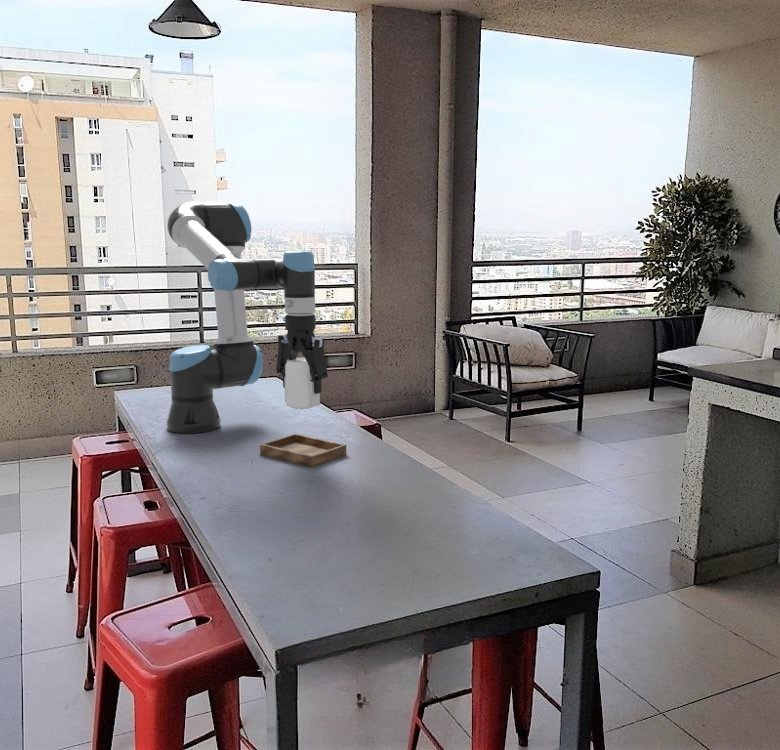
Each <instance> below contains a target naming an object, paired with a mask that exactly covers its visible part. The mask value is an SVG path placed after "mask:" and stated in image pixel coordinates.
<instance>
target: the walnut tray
mask: <svg viewBox="0 0 780 750" xmlns="http://www.w3.org/2000/svg"><path fill="white" fill-rule="evenodd" d="M259 451H260V452H259V455H263V456H265V457H270V458H273V459H278V460H281V461H286V462H289V463H293V464H296V465H300V466H305V467H308V468H315V467H317V466H320V465H322V464H326V463H327V462H330V461H332V460H333V461H334V460H336V459H339V458H341V457H344V456H346V455H347V444H343V443H341V442H335V441H330V440H326V439H321V438H318V437H314V436H313V437H312V436H308V435H303V434H299V433H293V434H289V435H286V436H283V437H279V438H275V439H273V440H270V441H267V442H263V443H261V444H259Z"/></svg>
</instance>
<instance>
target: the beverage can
mask: <svg viewBox="0 0 780 750" xmlns="http://www.w3.org/2000/svg"><path fill="white" fill-rule="evenodd" d="M285 375H286V402H285V403H286V406H287V407H289V408H292V409H294V410H295V409H296V410H307V409H312V408H314V407H310V381H311V380H312V377H311V374H310V368H309V365H308V362H306V359H305V356H302V357H300V356H299V357H296V359H293V360H289V359H288V360H287V363H286V365H285ZM316 376H317V375H316Z"/></svg>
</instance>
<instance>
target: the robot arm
mask: <svg viewBox="0 0 780 750" xmlns="http://www.w3.org/2000/svg"><path fill="white" fill-rule="evenodd" d="M167 232H168V235H169V236H170V238H171V239H172V241H173V242H174V243H175V244H176V245H177V246H179V247H180V248H184V249H186V250H188V252H189V253H190V254H192V255H193V257H194V258H196V259H197V260H198V261H199V262H200V264H202V265H203V267H205V269H206V270H207V280H208V282H209V285H210V287H211V288H212V289H213V291H214V304H215V305H214V306H215V314H216V324H217V325H216V327H217V335H218V336H217V338H216V340H215V341H214V342H213V348H214V349H212V348H211V346H209V345H206V344H199V345H189V346H184V347H181V348H177V349H176V350H174V351H172V353H171V354H170V356H169V367H168V369H169V376H170V390H171V391H170V392H171V405H170V408H169V412H168V417H167V419H166V428H167V430H168V431H169V432H172V433H177V434H197V433H198V434H200V433H205V432H210V431H211V432H212V431H213V430H216V429H218V428H219V427H220V426H221V417H220V415H219V412H218V409H217V406H216V403H215V401H214V390H217V389H218V390H219V389H224V388H234V387H245V386H248V385H253V384H255V383H257V381H259V379H260V377H261V375H262V372H263V367H264V366H263V365H264V362H263V358H264V357H263V353H262V350H261V348H260V347H259V346H258V345H256V344H254V339H253V338H252V337H251V336H249V334H248V323H247V311H246V301H245V298H246V297H245V290H253V289H254V290H255V289H256V290H257V289H277V288H278V289H279V288H281V289H283V290H284V291H283V293H284V295H283V296H284V312H285V314H286V315H285V316H284V326H285V327H284V329H285V330H286V331H287V332H286V333H285V334H281V335H280V334H279V335H278V336H277V340H278V341H277V342H278V349H277V357H276V359H277V360H276V367H275V368H276V369H275V370H276V373H277V374H280V375H281V376H282V387H283V389H284V402H285V403H286V375H285V365H286V363H287V360H288V359H289V360H293V359H296V358H298V357H297V356H298V354H299V353H301V354H302V357H305V359H306V362H308V365H309V368H310V374H311V377H312V380H311V381H310V407H313V408H315V407H317V406H320V405H321V399H320V398H321V395H320V394H321V393H322V380H325V379H327V378H329V377H328V376H329V374H328V367H327V362H326V361H327V360H326V354H325V338H317V337H316V336H315V333H314V331H315V330H316V326H317V325H316V324H317V323H316V315H315V313H316V297H315V294H316V292H315V290H316V287H315V285H316V284H315V282H316V280H315V279H316V277H315V276H316V275H315V274H316V273H315V272H316V265H315V255H314V253H313V252H312V251H311V250H286V251H285V252H284V253H283V257H279V256H277V257H275V256H274V257H273V256H272V257H269V258H268V257H267V258H266V257H263V258H261V257H260V258H242V257H241V256H242V253H243V252H244V250H245V249H246V243H248V242H249V241H250V240H251V237H252V222H251V219H250V216H249V213H248V212H247V210H246V209H245V207H244V206H243V205H241V204H240V203H236V202H228V201H187V202H184V203H182V204H179V205H178V206H177V207H176V208H174V209H173V211H172V212H171V213H170V215H169V217H168V220H167ZM316 375H317V376H316Z"/></svg>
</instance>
